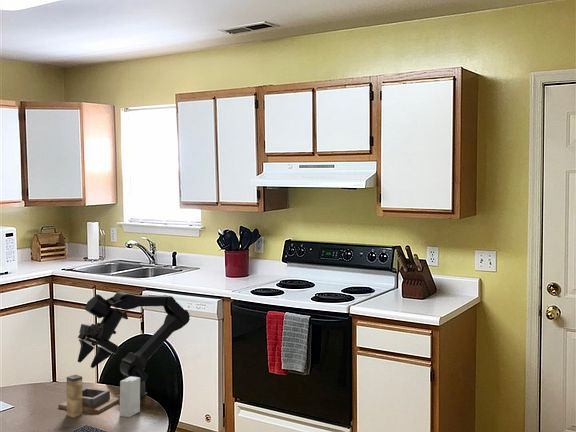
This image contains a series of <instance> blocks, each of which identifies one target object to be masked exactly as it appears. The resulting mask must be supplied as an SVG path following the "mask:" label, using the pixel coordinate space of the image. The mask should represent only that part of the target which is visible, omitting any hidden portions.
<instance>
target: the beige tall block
mask: <svg viewBox="0 0 576 432" xmlns="http://www.w3.org/2000/svg"><path fill="white" fill-rule="evenodd" d="M82 389H83V376H82V375H78V374H73V375H69V376H66V401H67V409H66V416H68V417H71V418H76V417H79V416H82V415H83V412H82Z"/></svg>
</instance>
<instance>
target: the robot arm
mask: <svg viewBox="0 0 576 432" xmlns="http://www.w3.org/2000/svg"><path fill="white" fill-rule="evenodd" d="M112 307H113V308H112ZM139 307H163V309H164V312H165V313H166V315H165V318H164V321H163V323H162V325H161V326H160V327H159V328H158V329H157V330H156V331H155V332H154V334H153V335H152V336H150V338H149V339H148V340H147V341H146V342H145V343H144V344H143V345H142V346H141V347H140V348H139V350H138V351H136V352H134V353H133V352H132V351H131V352H130V351H129V352H128V353H127V354H126V356H124V357H123V358H122V359H121V362H120V364H119V371H120V373H121V374H123V378H124V379H126V378H128V377H130V376H131V377H139V378H140V399H141V398H143V397H144V396H146V395H148V392H146V381H148V378H149V374H148V373H147V372H145V371H144V370H145V369H146V365H147V363H148V362H147V361H148V360H149V359H150V358H151V357H152V355H153V354H154V353H156V351H158V349H159V348H160V347H161V346H162V345H163V344H164V343H165V342H166V340H167V339H169V337H171V335H172V334H173V333H174V332H176V331H179V330H181V329H183V328H184V327H185V326H186V325H187V324H188V323H189V322H190V313H189V311H188V310H185V309H184V307H182V306H181V305H180V303H178V302H177V301H176V299H175V298H174V297H173V296H171V295H167V294H164V295H151V294H150V295H146V294H145V295H144V294H143V295H139V294H138V295H137V294H132V293H128V292H124V291H117V292H116V293H115V294H114V295H113V296H111V297H109V298H107V299H105V298H104V297H103V296H101V295H100V294H98V293H97V294H95V295H94V296H93V297H92V298H90V299H89V300H88V301H86V305H85V307H84V310H85V311H86V312H88V313H89V314H91V315H93V316H94V317H95V318H96V319H102V320H100V322H96V323H92V324H86V323H81V325H80V328H79V332H78V333H79V334H78V336H77V338H78V342H79V344H80V349H79V353H78V357H77V362H78V363H80V364H81V363H82V361H84V360H85V358H87V357H88V356H89V354H91V352H92V351H93V350H95V346H96V353H95V356H94V357H93V359H92V362H91V364H90V368H91V369H94V368H95V367H97V366H98V365H99V364H101V363H103V362H104V361H105V360H106V359H108V358H109V357H111V356H113V355H117V353H118V351H119V345H117V344H115V343H114V342H112V341H111V338H112V336H113V335H116V333H117V331H116V329H117V327H118V326H119V324H120V322H121V320H122V319H124V320H129V317H128V313H127V311H129V310H134V309H136V308H139ZM120 309H121V310H123V311H121V310H120Z"/></svg>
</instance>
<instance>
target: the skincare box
mask: <svg viewBox="0 0 576 432" xmlns="http://www.w3.org/2000/svg"><path fill="white" fill-rule="evenodd" d="M119 398H120V402H119V416H120V417H126V418H131V417H133V416H134V415H136V414H138V413H139V412H140V411H141V398H140V378H139V377H131V376H130V377H128V378H124V379H122V380H120V382H119Z"/></svg>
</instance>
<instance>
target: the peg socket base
mask: <svg viewBox="0 0 576 432" xmlns="http://www.w3.org/2000/svg"><path fill="white" fill-rule="evenodd" d="M118 403H120V397H119V398H118V397H114V396H113V397H111V390H110V389H102V388H94V387H84V388H83V387H82V413H91V414H98V415H100V414H101V413H102V412H104V411H106V410H108V409H109V408H112V407H113V406H114V405H116V404H118ZM58 409H62V410H67V400H65V401H63V402H61V403H59V404H58Z"/></svg>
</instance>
